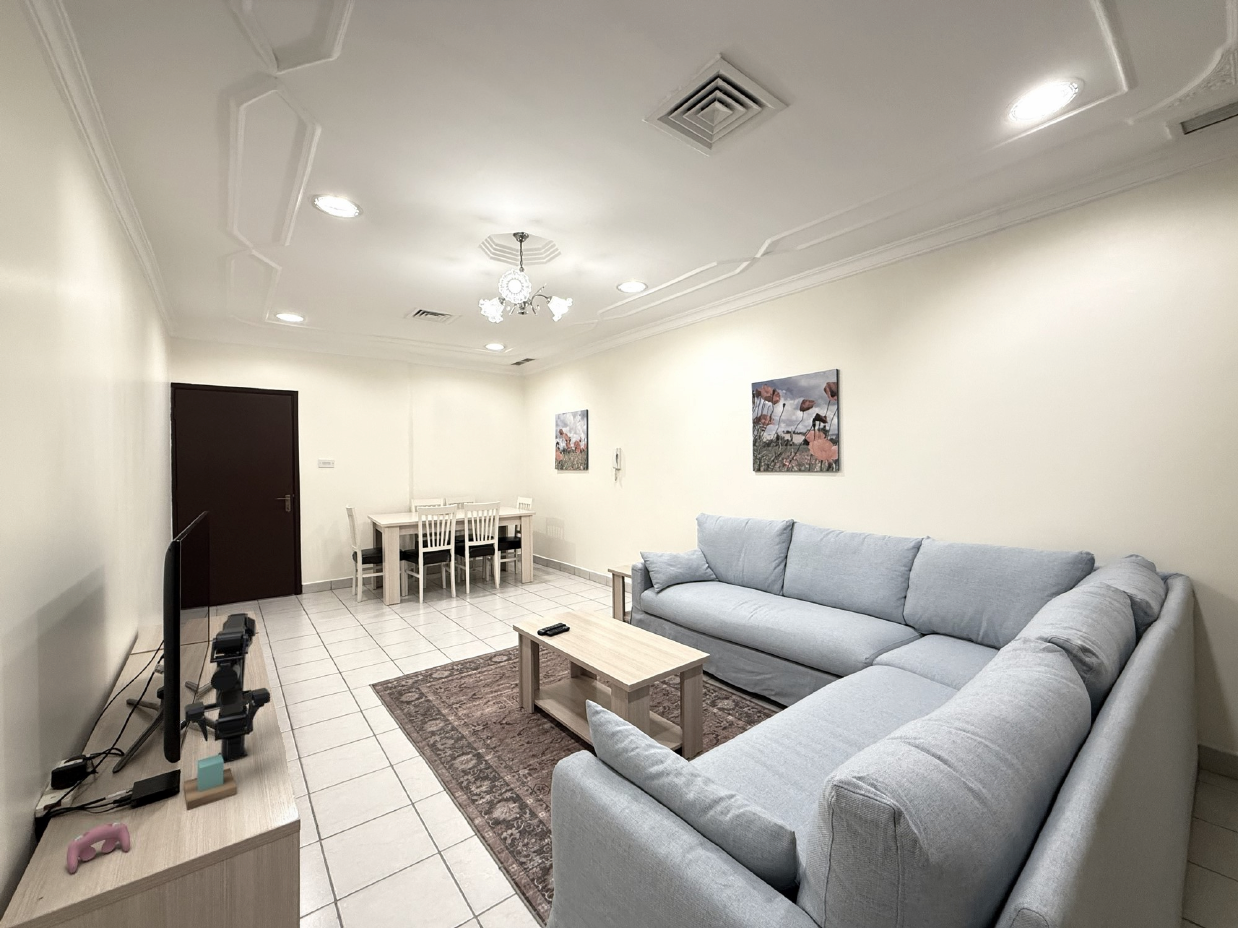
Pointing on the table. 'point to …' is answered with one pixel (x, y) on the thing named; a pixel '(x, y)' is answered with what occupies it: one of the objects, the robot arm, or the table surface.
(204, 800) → the base plinth
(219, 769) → the teal block
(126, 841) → the video game controller
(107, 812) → the table surface
